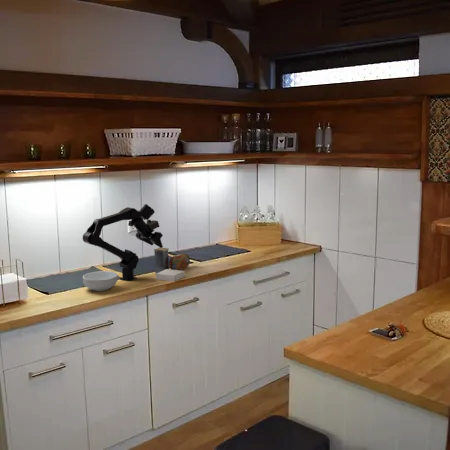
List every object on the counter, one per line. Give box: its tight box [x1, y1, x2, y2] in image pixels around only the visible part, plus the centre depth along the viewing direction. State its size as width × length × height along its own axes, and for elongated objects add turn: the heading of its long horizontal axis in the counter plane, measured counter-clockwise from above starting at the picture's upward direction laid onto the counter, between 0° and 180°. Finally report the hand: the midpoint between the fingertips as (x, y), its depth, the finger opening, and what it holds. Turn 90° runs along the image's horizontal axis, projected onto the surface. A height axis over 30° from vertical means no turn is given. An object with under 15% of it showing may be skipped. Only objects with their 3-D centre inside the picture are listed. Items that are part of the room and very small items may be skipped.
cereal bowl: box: [82, 270, 118, 292], centre depth 271 cm, size 17×17×7 cm
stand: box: [155, 268, 185, 282], centre depth 292 cm, size 11×11×3 cm
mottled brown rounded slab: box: [169, 253, 191, 271], centre depth 310 cm, size 15×3×8 cm, turn 143°
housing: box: [153, 247, 170, 274], centre depth 303 cm, size 6×6×13 cm
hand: (157, 246), depth 299 cm, fingers open, 9 cm apart
